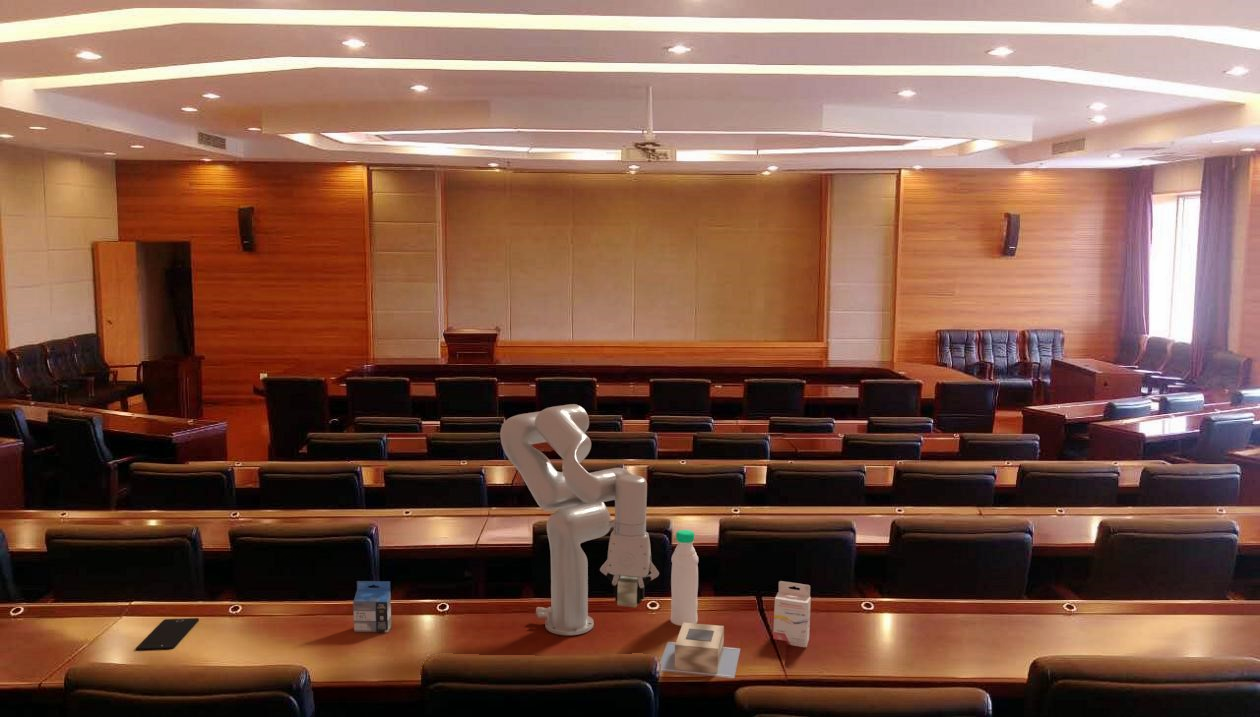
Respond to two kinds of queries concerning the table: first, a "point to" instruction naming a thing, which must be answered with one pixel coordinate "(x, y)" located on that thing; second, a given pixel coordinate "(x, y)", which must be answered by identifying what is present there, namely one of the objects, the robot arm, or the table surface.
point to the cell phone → (167, 634)
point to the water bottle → (684, 580)
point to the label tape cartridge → (372, 607)
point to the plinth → (699, 647)
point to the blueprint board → (725, 670)
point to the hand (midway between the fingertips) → (628, 599)
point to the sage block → (627, 591)
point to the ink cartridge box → (792, 614)
